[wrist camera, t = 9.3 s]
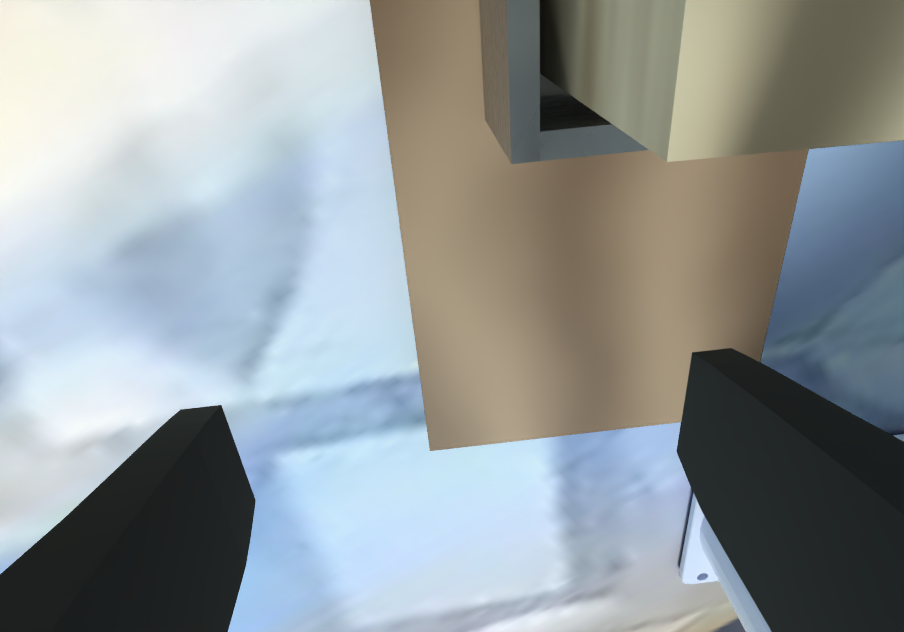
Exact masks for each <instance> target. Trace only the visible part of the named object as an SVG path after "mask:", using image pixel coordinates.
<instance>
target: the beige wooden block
mask: <svg viewBox="0 0 904 632" xmlns="http://www.w3.org/2000/svg"><path fill="white" fill-rule="evenodd" d="M540 74H541V75H543V76H544V77H545V78H547V79H548V80H550V81H551V82H553V83H554V84H555V85H557V86H558V87H560V88H561V89H563V90H564V91H566V92H567V93H568V94H570V95H571V96H573V97H574V98H576V99H577V100H578V101H580V102H581V103H583V104H584V105H586V106H587V107H588V108H590V109H591V110H593V111H594V112H596V113H597V114H599V115H600V116H601V117H603V118H604V119H606V120H607V121H609V122H610V123H611V124H613V125H614V126H616V127H617V128H619V129H620V130H621V131H623V132H624V133H626V134H627V135H629V136H630V137H632V138H633V139H634V140H636V141H637V142H639V143H640V144H642V145H643V146H644V147H646V148H647V149H649V150H650V151H652V152H653V153H655V154H656V155H657V156H659V157H660V158H662V159H663V160H665V161H666V162H674V161H684V160H695V159H706V158H717V157H728V156H738V155H749V154H760V153H771V152H782V151H792V150H803V149H814V148H825V147H836V146H846V145H857V144H868V143H879V142H889V141H900V140H904V0H540Z"/></svg>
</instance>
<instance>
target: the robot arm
mask: <svg viewBox="0 0 904 632" xmlns="http://www.w3.org/2000/svg"><path fill="white" fill-rule="evenodd" d="M677 454H678V456H679V459H680V461H681V463H682V466H683V468H684V471H685V473H686V476H687V478H688V481H689V483H690V486H691V488H692V490H693V492H694V493H693V498H692V504H691V509H690V515H689V520H688V526H687V531H686V536H685V542H684V547H683V553H682V558H681V564H680V569H679V576H680V578H681V581H682V582H683V583H686V584H696V583H704V582H712V581H719V582H720V584H721V585H722V587H723V589H724V591H725V593H726V595H727V597H728V599H729V601H730V602H731V604H732V606H733V608H734V610H735V612H736V614H737V616H738V618H739V619H740V621H741V623H742V625H743V627H744V629H745V631H746V632H904V434H901V435H891V434H889V433H887V432H885V431H883V430H881V429H879V428H877V427H876V426H874V425H872V424H870V423H868V422H866V421H864V420H863V419H861V418H859V417H857V416H855V415H853V414H852V413H850V412H848V411H846V410H844V409H843V408H841V407H839V406H837V405H835V404H834V403H832V402H830V401H828V400H826V399H825V398H823V397H821V396H819V395H817V394H816V393H814V392H812V391H810V390H809V389H807V388H805V387H803V386H801V385H800V384H798V383H796V382H794V381H793V380H791V379H789V378H787V377H785V376H784V375H782V374H780V373H778V372H776V371H775V370H773V369H771V368H769V367H767V366H766V365H764V364H762V363H760V362H758V361H756V360H754V359H753V358H751V357H749V356H747V355H745V354H743V353H741V352H739V351H737V350H734V349H732V348H726V349H717V350H709V351H700V352H692V356H691V363H690V369H689V375H688V382H687V388H686V395H685V401H684V408H683V414H682V421H681V427H680V434H679V440H678V446H677ZM254 508H255V498H254V495H253V492H252V490H251V487H250V484H249V481H248V478H247V476H246V473H245V470H244V467H243V465H242V462H241V459H240V456H239V453H238V451H237V448H236V445H235V442H234V439H233V437H232V434H231V431H230V428H229V425H228V423H227V420H226V417H225V414H224V412H223V409H222V406H221V405H218V406H209V407H200V408H191V409H183V410H180V411H179V412H177V413H176V414H175V415H174V416H173V417H172V418H170V419H169V420H168V421H167V422H166V423H165V424H164V425H163V426H162V427H160V428H159V429H158V430H157V431H156V432H155V433H154V434H153V435H152V436H151V437H150V438H149V439H148V440H147V441H146V442H144V443H143V444H142V445H141V446H140V447H139V448H138V449H137V450H136V451H135V452H134V453H133V454H132V455H131V456H130V457H129V458H128V459H127V460H126V461H125V462H124V463H123V464H121V465H120V466H119V467H118V468H117V469H116V470H115V471H114V472H113V473H112V474H111V475H110V476H109V477H108V478H107V479H106V480H105V481H103V482H102V483H101V484H100V485H99V486H98V487H97V488H96V489H95V490H94V491H93V492H92V493H91V494H90V495H89V496H88V497H86V498H85V499H84V500H83V501H82V502H81V503H80V504H79V505H78V506H77V507H76V508H75V509H74V510H73V511H72V512H70V513H69V514H68V515H67V516H66V517H65V518H64V519H63V520H62V521H61V522H60V523H58V524H57V525H56V526H55V527H54V528H53V529H52V530H50V531H49V532H48V533H47V534H46V535H45V536H44V537H42V538H41V539H40V540H39V541H38V542H37V543H36V544H34V545H33V546H32V547H31V548H30V549H29V550H28V551H26V552H25V553H24V554H23V555H22V556H21V557H20V558H18V559H17V560H16V561H15V562H14V563H13V564H12V565H11V566H9V567H8V568H7V569H6V570H5V571H4V572H3V573H1V574H0V632H228V628H229V625H230V621H231V618H232V614H233V610H234V607H235V603H236V600H237V596H238V592H239V589H240V585H241V582H242V578H243V574H244V570H245V566H246V561H247V555H248V549H249V543H250V537H251V530H252V523H253V515H254Z"/></svg>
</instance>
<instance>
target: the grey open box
mask: <svg viewBox="0 0 904 632" xmlns="http://www.w3.org/2000/svg"><path fill="white" fill-rule="evenodd" d="M479 10H480V30H481V50H482V70H483V90H484V110H485V121H486V122H487V124H488V126H489V127H490V129H491V131H492V132H493V134H494V136H495V138H496V139H497V141H498V143H499V144H500V146H501V148H502V149H503V151H504V153H505V154H506V156H507V158H508V159H509V161H510V163H511V164H518V163H528V162H537V161H547V160H557V159H567V158H576V157H586V156H596V155H606V154H615V153H625V152H635V151H645V150H649V149H647V148H646V147H644V146H643V145H642V144H640V143H639V142H637V141H636V140H634V139H633V138H632V137H630V136H629V135H627V134H626V133H624V132H623V131H621V130H620V129H619V128H617V127H616V126H614V125H613V124H611V123H610V122H609V121H607V120H606V119H604V118H603V117H601V116H600V115H599V114H597V113H596V112H594V111H593V110H591V109H590V108H588V107H587V106H586V105H584V104H583V103H581V102H580V101H578V100H577V99H576V98H574V97H573V96H571V95H570V94H568V93H567V92H566V91H564V90H563V89H561V88H560V87H558V86H557V85H555V84H554V83H553V82H551V81H550V80H548V79H547V78H545V77H544V76H543V75H541V74H540V0H479Z"/></svg>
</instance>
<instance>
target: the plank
mask: <svg viewBox="0 0 904 632" xmlns="http://www.w3.org/2000/svg"><path fill="white" fill-rule="evenodd" d="M370 5H371V12H372V20H373V27H374V35H375V42H376V50H377V57H378V65H379V72H380V80H381V87H382V95H383V102H384V110H385V117H386V125H387V132H388V140H389V147H390V155H391V162H392V170H393V177H394V185H395V192H396V200H397V207H398V215H399V222H400V230H401V237H402V245H403V252H404V260H405V267H406V275H407V282H408V290H409V297H410V305H411V312H412V320H413V327H414V335H415V342H416V350H417V357H418V364H419V372H420V379H421V387H422V394H423V402H424V409H425V417H426V424H427V432H428V439H429V447H430V451H434V450H443V449H451V448H460V447H469V446H477V445H486V444H495V443H503V442H512V441H521V440H529V439H538V438H547V437H555V436H564V435H573V434H581V433H590V432H599V431H607V430H616V429H625V428H633V427H642V426H651V425H659V424H668V423H677V422H681V421H682V414H683V408H684V401H685V395H686V388H687V382H688V375H689V369H690V363H691V356H692V352H700V351H709V350H717V349H726V348H732V349H734V350H737V351H739V352H741V353H743V354H745V355H747V356H749V357H751V358H753V359H754V360H756V361H758V362H760V360H761V356H762V351H763V347H764V342H765V338H766V334H767V329H768V325H769V321H770V316H771V312H772V307H773V303H774V299H775V294H776V290H777V286H778V281H779V277H780V273H781V268H782V264H783V259H784V255H785V251H786V246H787V242H788V238H789V233H790V229H791V224H792V220H793V216H794V211H795V207H796V203H797V198H798V194H799V189H800V185H801V181H802V176H803V172H804V168H805V163H806V159H807V154H808V150H809V149H803V150H792V151H782V152H771V153H760V154H749V155H738V156H728V157H717V158H706V159H695V160H684V161H674V162H666V161H665V160H663V159H662V158H660V157H659V156H657V155H656V154H655V153H653V152H652V151H650V150H645V151H635V152H625V153H615V154H606V155H596V156H586V157H576V158H567V159H557V160H547V161H537V162H528V163H518V164H511V163H510V161H509V159H508V158H507V156H506V154H505V153H504V151H503V149H502V148H501V146H500V144H499V143H498V141H497V139H496V138H495V136H494V134H493V132H492V131H491V129H490V127H489V126H488V124H487V122H486V121H485V110H484V90H483V70H482V50H481V30H480V10H479V0H370Z"/></svg>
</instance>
